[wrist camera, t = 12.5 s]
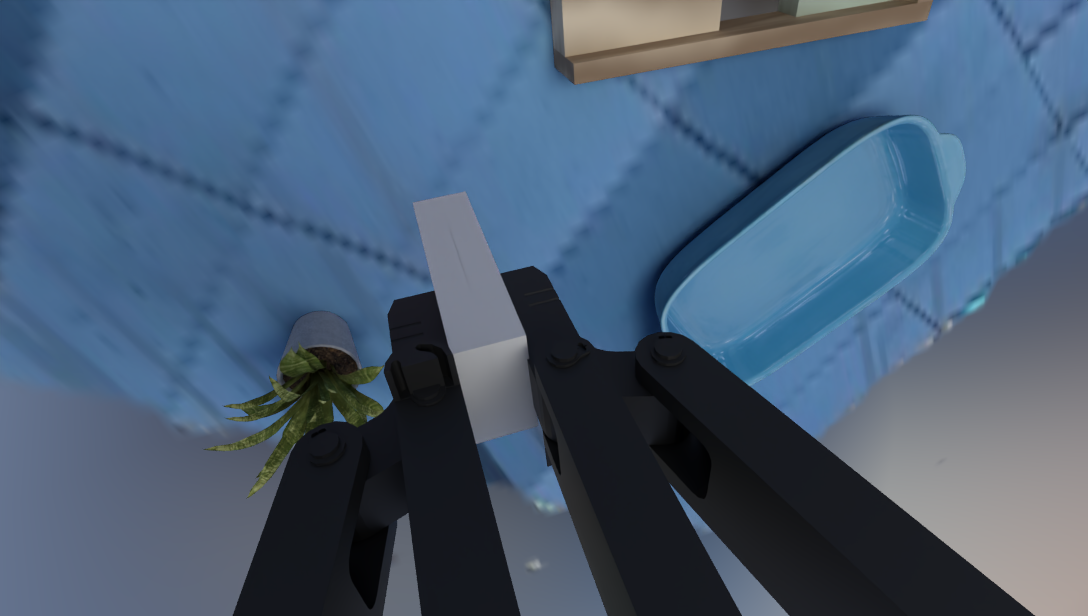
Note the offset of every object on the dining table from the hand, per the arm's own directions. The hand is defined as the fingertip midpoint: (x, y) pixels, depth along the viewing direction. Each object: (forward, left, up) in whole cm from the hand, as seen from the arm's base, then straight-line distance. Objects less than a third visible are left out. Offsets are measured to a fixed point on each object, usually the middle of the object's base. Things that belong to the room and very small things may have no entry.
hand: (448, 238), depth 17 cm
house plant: (+25, -13, -33) cm, 43 cm away
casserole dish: (+29, +38, -33) cm, 58 cm away
